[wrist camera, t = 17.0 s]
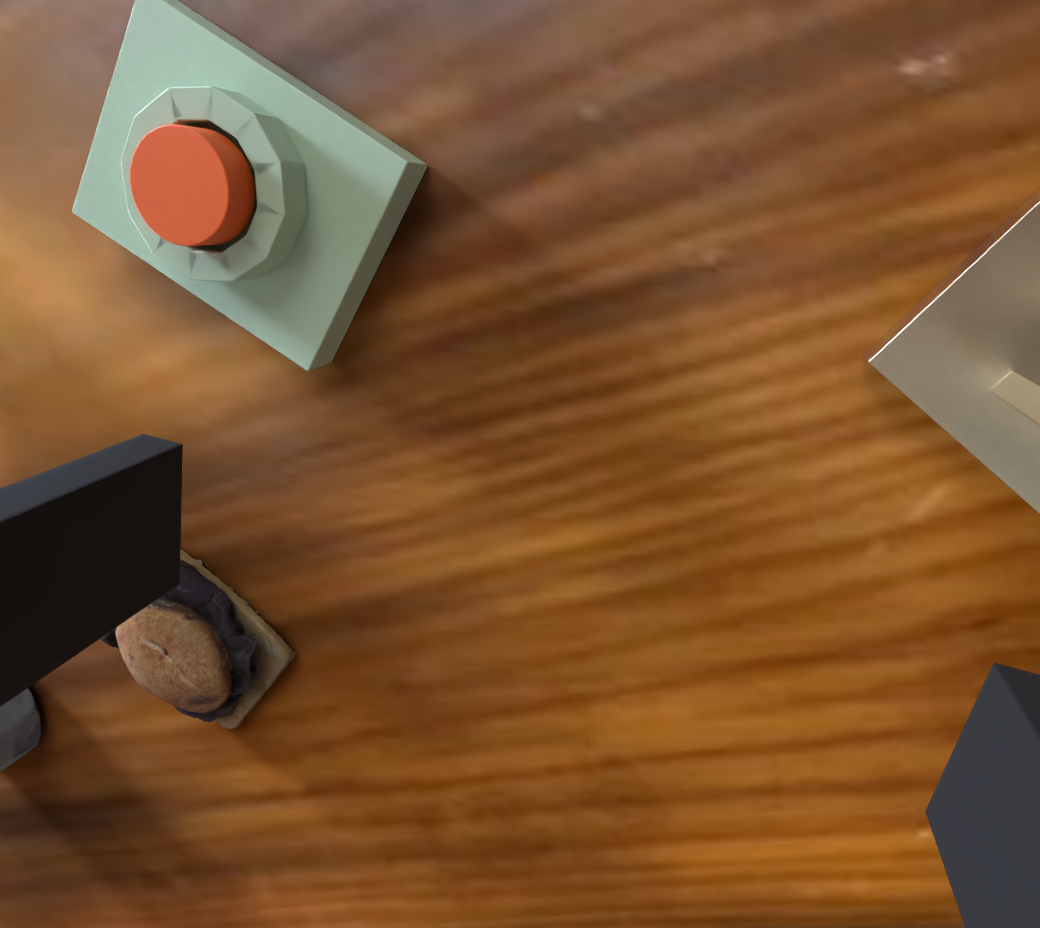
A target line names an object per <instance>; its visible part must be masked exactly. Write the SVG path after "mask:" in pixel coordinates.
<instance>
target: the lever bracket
mask: <svg viewBox="0 0 1040 928" xmlns="http://www.w3.org/2000/svg"><path fill="white" fill-rule="evenodd" d="M863 357H864V358H865V359H866V360H867V361H868V362H869V363H870V364H871V365H872V366H873V367H874V368H875V369H876V370H878V371H879V372H880V373H881V374H882V375H883V376H884V377H885V378H887V379H888V380H889V381H890V382H891V383H892V384H893V385H894V386H896V387H897V388H898V389H899V390H900V391H901V392H902V393H903V394H905V395H906V396H907V397H908V398H909V399H910V400H911V401H912V402H914V403H915V404H916V405H917V406H918V407H919V408H920V409H922V410H923V411H924V412H925V413H926V414H927V415H928V416H929V417H931V418H932V419H933V420H934V421H935V422H936V423H937V424H938V425H940V426H941V427H942V428H943V429H944V430H945V431H946V432H947V433H949V434H950V435H951V436H952V437H953V438H954V439H955V440H956V441H958V442H959V443H960V444H961V445H962V446H963V447H964V448H965V449H967V450H968V451H969V452H970V453H971V454H972V455H973V456H975V457H976V458H977V459H978V460H979V461H980V462H981V463H982V464H984V465H985V466H986V467H987V468H988V469H989V470H990V471H991V472H993V473H994V474H995V475H996V476H997V477H998V478H999V479H1000V480H1002V481H1003V482H1004V483H1005V484H1006V485H1007V486H1008V487H1009V488H1011V489H1012V490H1013V491H1014V492H1015V493H1016V494H1017V495H1018V496H1020V497H1021V498H1022V499H1023V500H1024V501H1025V502H1026V503H1028V504H1029V505H1030V506H1031V507H1032V508H1033V509H1034V510H1035V511H1037V512H1038V513H1039V514H1040V188H1039V189H1038V190H1037V191H1036V192H1035V193H1034V194H1033V195H1032V196H1031V197H1030V198H1029V199H1028V200H1026V201H1025V202H1024V203H1023V204H1022V205H1021V206H1020V207H1019V208H1018V209H1017V210H1016V211H1015V212H1014V213H1013V214H1012V215H1011V216H1010V217H1009V218H1007V219H1006V220H1005V221H1004V222H1003V223H1002V224H1001V225H1000V226H999V227H998V228H997V229H996V230H995V231H994V232H993V233H992V234H991V235H989V236H988V237H987V238H986V239H985V240H984V241H983V242H982V243H981V244H980V245H979V246H978V247H977V248H976V249H975V250H974V251H973V252H972V253H970V254H969V255H968V256H967V257H966V258H965V259H964V260H963V261H962V262H961V263H960V264H959V265H958V266H957V267H956V268H955V269H954V270H952V271H951V272H950V273H949V274H948V275H947V276H946V277H945V278H944V279H943V280H942V281H941V282H940V283H939V284H938V285H937V286H936V287H935V288H933V289H932V290H931V291H930V292H929V293H928V294H927V295H926V296H925V297H924V298H923V299H922V300H921V301H920V302H919V303H918V304H917V305H915V306H914V307H913V308H912V309H911V310H910V311H909V312H908V313H907V314H906V315H905V316H904V317H903V318H902V319H901V320H900V321H899V322H898V323H896V324H895V325H894V326H893V327H892V328H891V329H890V330H889V331H888V332H887V333H886V334H885V335H884V336H883V337H882V338H881V339H880V340H878V341H877V342H876V343H875V344H874V345H873V346H872V347H871V348H870V349H869V350H868V351H867V352H866V353H865V354H864V355H863Z"/></svg>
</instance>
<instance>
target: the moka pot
mask: <svg viewBox="0 0 1040 928" xmlns="http://www.w3.org/2000/svg"><path fill="white" fill-rule="evenodd" d="M40 736H41V726H40V712H39V709H38V707H37V704H36V702H35V699H34V697H33V696H32V694H31V692H30V690H29V689H28V688H27V689H26V690H24V691H23V692H21V693H20V694H18V695H17V696H15V697H14V698H12V699H11V700H9V701H8V702H7V703H5V704H4V705H2V706H1V707H0V772H1V771H2V770H4V769H5V768H7V767H8V766H10V765H11V764H12V763H14V762H15V761H17V760H18V759H19V758H21V757H22V756H24V755H25V754H26V753H28V752H29V751H30V750H32V749H33V748H34V747H35V746H36V745H38V742H39V739H40Z"/></svg>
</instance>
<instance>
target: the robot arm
mask: <svg viewBox="0 0 1040 928" xmlns="http://www.w3.org/2000/svg"><path fill="white" fill-rule="evenodd" d="M182 445H183V444H179V443H175V442H172V441H168V440H164V439H160V438H157V437H153V436H149V435H146V434H142V435H140V436H137V437H134V438H132V439H129V440H127V441H124V442H121V443H119V444H116V445H113V446H111V447H108V448H106V449H103V450H100V451H98V452H95V453H93V454H90V455H87V456H85V457H82V458H79V459H77V460H74V461H72V462H69V463H66V464H64V465H61V466H58V467H56V468H53V469H51V470H48V471H45V472H43V473H40V474H38V475H35V476H32V477H30V478H27V479H24V480H22V481H19V482H17V483H14V484H11V485H9V486H6V487H3V488H1V489H0V707H1V706H2V705H4V704H5V703H7V702H8V701H9V700H11V699H12V698H14V697H15V696H17V695H18V694H20V693H21V692H23V691H24V690H26V689H27V688H28V687H30V686H31V685H33V684H34V683H36V682H37V681H39V680H40V679H42V678H43V677H45V676H46V675H47V674H49V673H50V672H52V671H53V670H55V669H56V668H58V667H59V666H61V665H62V664H64V663H65V662H66V661H68V660H69V659H71V658H72V657H74V656H75V655H77V654H78V653H80V652H81V651H83V650H84V649H85V648H87V647H88V646H90V645H91V644H93V643H94V642H96V641H97V640H99V639H100V638H102V637H103V636H104V635H106V634H107V633H109V632H110V631H112V630H113V629H115V628H116V627H118V626H119V625H121V624H122V623H123V622H125V621H126V620H128V619H129V618H131V617H132V616H134V615H135V614H137V613H138V612H139V611H141V610H142V609H144V608H145V607H147V606H148V605H150V604H151V603H153V602H154V601H156V600H157V599H158V598H160V597H161V596H163V595H164V594H166V593H167V592H169V591H170V590H172V589H173V588H175V587H176V586H177V585H179V584H180V539H181V492H182ZM926 814H927V817H928V820H929V823H930V826H931V829H932V832H933V835H934V838H935V840H936V843H937V846H938V849H939V852H940V855H941V858H942V861H943V864H944V867H945V870H946V873H947V875H948V878H949V881H950V884H951V887H952V890H953V893H954V896H955V899H956V902H957V905H958V908H959V911H960V913H961V916H962V919H963V922H964V925H965V928H1040V675H1038V674H1034V673H1030V672H1027V671H1023V670H1019V669H1015V668H1012V667H1008V666H1004V665H1001V664H997V663H993V666H992V668H991V670H990V672H989V674H988V676H987V679H986V681H985V683H984V685H983V687H982V690H981V692H980V694H979V696H978V698H977V700H976V703H975V705H974V707H973V709H972V711H971V713H970V716H969V718H968V720H967V722H966V724H965V726H964V729H963V731H962V733H961V735H960V737H959V739H958V742H957V744H956V746H955V748H954V750H953V753H952V755H951V757H950V759H949V761H948V763H947V766H946V768H945V770H944V772H943V774H942V776H941V779H940V781H939V783H938V785H937V787H936V789H935V792H934V794H933V796H932V798H931V800H930V803H929V805H928V807H927V809H926Z"/></svg>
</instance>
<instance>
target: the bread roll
mask: <svg viewBox="0 0 1040 928" xmlns="http://www.w3.org/2000/svg"><path fill="white" fill-rule="evenodd" d="M258 612H259V611H257V612H254V610H253V609H252V608H251V607H250V606H248V603H247V602H246V601H245V600H244V599H242V598H241V597H239V598H238V596H237V594H236V593H235V592H234V591H233V588H230V587H229V586H227V585H226V584H225V583H223V582H222V581H221V580H220V579H219V578H218V577H217V576H213V574H212V573H211V572H210V571H209V570H208V569H206V568H204V567H203V566H202V561H201V560H199V559H198V560H195V559H194V558H192V557H190V556H189V555H188V554H187V552H185V551H183V550H181V549H180V584H179V585H177V586H176V587H175V588H173V589H172V590H170V591H169V592H167V593H166V594H164V595H163V596H161V597H160V598H158V599H157V600H156V601H154V602H153V603H151V604H150V605H148V606H147V607H145V608H144V609H142V610H141V611H139V612H138V613H137V614H135V615H134V616H132V617H131V618H129V619H128V620H126V621H125V622H123V623H122V624H121V625H119V626H118V627H116V628H115V629H113V630H112V631H110V632H109V633H107V634H106V635H104V636H103V637H102V638H100V639H101V640H102V641H103V642H105V643H107V644H108V645H110V646H112V647H117V648H118V649H120V652H121V654H122V657H123V659H124V661H125V663H126V665H127V667H128V669H129V671H130V672H131V674H132V675H133V677H134V679H135V680H136V681H137V682H138V683H139V684H140V685H141V686H142V687H144V688H145V689H146V690H147V691H148V692H149V693H151V694H153V695H154V696H156V697H158V698H160V699H162V700H164V701H166V702H168V703H170V704H172V705H174V706H175V708H176V709H177V710H178V711H179V712H181V713H183V714H186V715H188V716H191V717H194V718H199V719H201V720H203V721H205V722H212V721H213V720H216V721H217V722H219V723H220V725H221V726H223V727H225V728H228V729H234V728H235V727H237V726H239V725H240V723H242V721H243V719H244V718H245V716H246V715H247V714H249V712H250V711H251V710H252V708H254V706H255V704H256V703H258V702H259V701H260V699H261V697H262V696H263V694H264V693H265V692H266V690H267V689H269V688H270V687H271V685H272V684H273V683H274V682H275V680H276V679H277V678H278V677H279V675H280V674H281V672H283V670H284V669H285V668H286V667H287V664H289V663H290V662H291V660H292V659H294V658H293V657H294V654H296V653H295V652H293V651H292V650H291V648H290V647H289V646H288V644H287V643H286V644H285V642H284V640H282V637H281V636H280V635H277V633H276V631H275V630H274V629H273V628H272V627H271V626H270V625H269V624H266V623H265V622H264V619H262V618H261V617H260V616H258V615H257V613H258Z"/></svg>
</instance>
